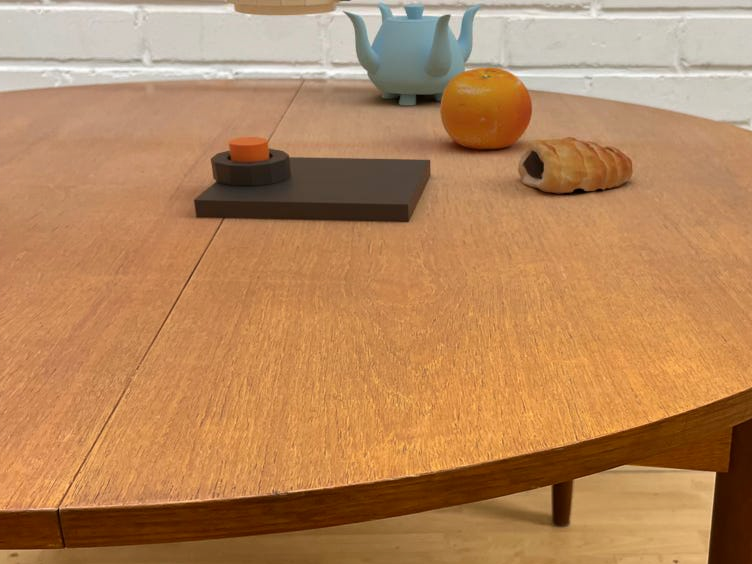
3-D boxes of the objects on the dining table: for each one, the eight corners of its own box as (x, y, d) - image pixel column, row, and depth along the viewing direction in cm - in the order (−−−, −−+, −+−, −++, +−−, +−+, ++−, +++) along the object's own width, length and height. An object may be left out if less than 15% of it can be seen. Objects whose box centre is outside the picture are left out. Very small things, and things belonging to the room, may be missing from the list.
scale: (190, 218, 72) (184, 177, 71) (243, 172, 84) (238, 136, 82) (408, 223, 71) (407, 182, 70) (430, 176, 83) (429, 140, 82)
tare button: (226, 165, 75) (223, 144, 75) (237, 156, 78) (234, 136, 77) (264, 166, 75) (261, 145, 74) (274, 157, 78) (271, 137, 77)
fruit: (423, 116, 87) (466, 34, 86) (428, 133, 96) (467, 58, 95) (504, 163, 88) (548, 83, 87) (502, 176, 96) (542, 103, 95)
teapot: (450, 112, 108) (449, 12, 103) (341, 105, 111) (334, 8, 106) (483, 92, 119) (483, 1, 113) (382, 86, 122) (378, -3, 116)
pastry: (607, 169, 85) (610, 124, 83) (648, 188, 80) (653, 141, 78) (511, 180, 82) (512, 134, 80) (548, 201, 76) (550, 151, 74)
